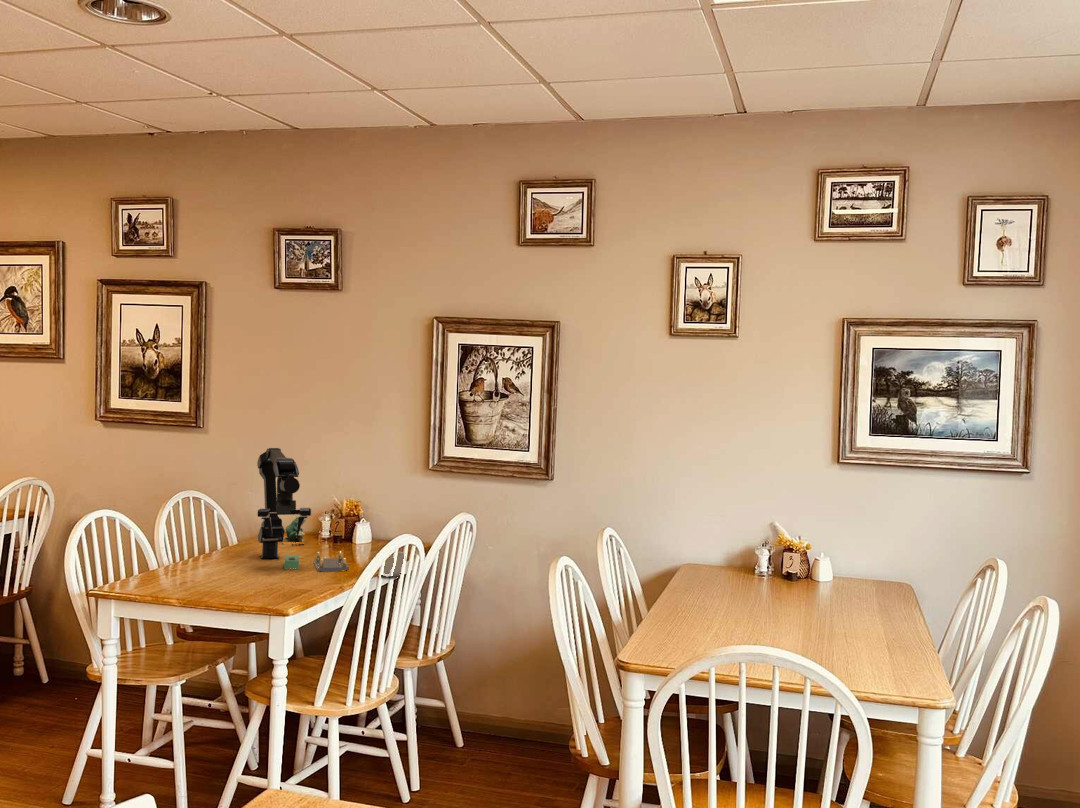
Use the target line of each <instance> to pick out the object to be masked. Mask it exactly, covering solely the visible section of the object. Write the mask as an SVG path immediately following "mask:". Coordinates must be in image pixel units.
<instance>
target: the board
mask: <svg viewBox="0 0 1080 808" xmlns="http://www.w3.org/2000/svg"><path fill="white" fill-rule="evenodd" d="M290 568H291V569H293V568H294V569H295V568H296V569H298V568H300V555H285V558H284V567H283V569H290ZM298 570H299V569H298Z"/></svg>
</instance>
